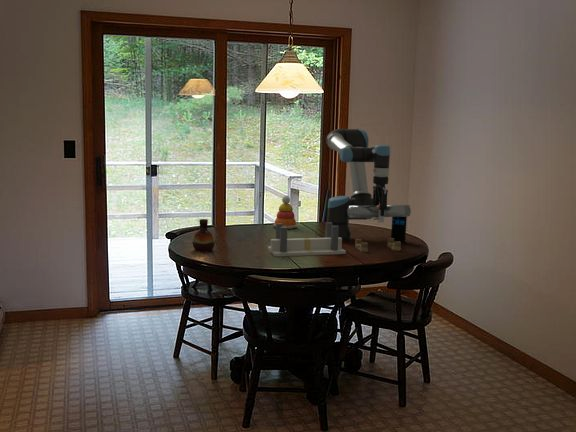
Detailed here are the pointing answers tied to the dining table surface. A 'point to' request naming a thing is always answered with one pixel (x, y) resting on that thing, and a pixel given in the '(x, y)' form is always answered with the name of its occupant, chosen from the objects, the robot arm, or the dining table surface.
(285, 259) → the dining table surface
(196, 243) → the vase
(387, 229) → the dining table surface
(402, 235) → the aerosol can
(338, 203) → the robot arm
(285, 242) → the white cradle stand
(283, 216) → the stacking toy
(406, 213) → the tube
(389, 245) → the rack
